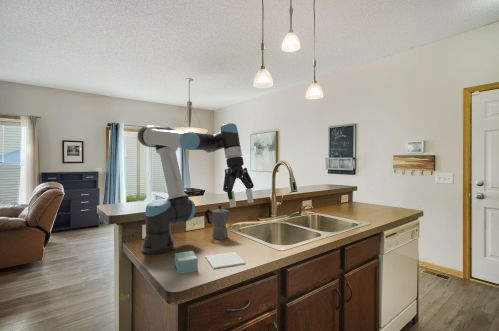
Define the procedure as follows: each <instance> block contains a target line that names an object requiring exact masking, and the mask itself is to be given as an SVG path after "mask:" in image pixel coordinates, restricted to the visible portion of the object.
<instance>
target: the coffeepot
mask: <svg viewBox="0 0 499 331" xmlns="http://www.w3.org/2000/svg"><path fill="white" fill-rule="evenodd" d="M231 213H232V211H231V210H228V209H224V208H222V205H218V208H217V209H209V208H208V209H206V211H205V212H204V216H205V218H206V221H207V224H210V225H211V224H212V221H213V228H212V234H211V237H212V239H215V240H224V239H226V238H228V236H229V235H228V231H227V230H228V229H227V224H226V223H227V219H228V217H229V216H230V214H231ZM209 214H211V215H212V221H210V216H209Z"/></svg>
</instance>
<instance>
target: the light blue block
mask: <svg viewBox="0 0 499 331" xmlns="http://www.w3.org/2000/svg"><path fill="white" fill-rule="evenodd" d="M198 259H199V258H198V257H197V256H196V254H195V252H194V251H193V250H189V251H182V252H177V253H176V252H175V253H174V266H175V268H176V271H177V274H178V275H179V274H180V275H181V274H186V273H192V272H198V270H199V269H198V268H199V266H198V262H199V260H198Z"/></svg>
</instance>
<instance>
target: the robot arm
mask: <svg viewBox="0 0 499 331" xmlns="http://www.w3.org/2000/svg"><path fill="white" fill-rule="evenodd" d="M137 139H138V140H137V141H138V142H139V143H140V144H141V145H143V146H145V147H147V148H155V152H156V153H157V154H158V155H159V156H160V157H159V158H160V162H161V167H162V172H163V175H164V176H163V177H164V180H165V185H166V190H167V195H168V197H167V198H166V199H163V200H156V201H152V202H149V203H148V204H146V205H145V206H146V207H145V212H144V215H145V236H144V240H143V242H142V245H141V252H142V253H144V254H147V255H158V254H159V255H160V254H164V253H169V252H170V251H172V250H174V249H175V242H174V238H173V236H172V232H171V226H174V225H178V224H181V223H186V222H189V221H191V220H192V219H193V218H194V217H195V214H196V210H197V208H196V203H195V202H194V201H193V199H190V198H189V195H188V194H187V193H185V189H184V183H183V180H182V179H183V178H182V175H181V169H180V166H179V162H178V156H177V151H178V149H184V150H187V151H204V152H206V153H214V152H216V151H219V150H222V149H224V155H225V159H226V160H225V161H226V168H225V169H224V181H223V186H222V190H223V192H225V193H226V194H227V199H228V203H229V207H230V208H234V207H235V208H236V207H237V202H236V197H235V196H236V195H235V192H234V190H233V189H234V187H235V183H236V180H237V179H239V180H240V181H241V183H242V185H244V187H245V188H246V189H245V194H246V198H247V203H248V204H252V203H255V202H254V196H253V190H252V189H254V187H255V184H254V182H253V180H252V178H251V176H250V174H249V171H248V167H243V166H244V164H245V163H244V158H243V153H242V148H241V142H240V136H239V131H238V127H237V124H236V123H232V122H231V123H224V124H222V125H221V126H220V131H219V132H216V133H214V134H212V133H201V132H193V131H178V130H176V129H175V128H173V127H169V126H159V125H150V124H149V125H144V126H142V127H141V128H140V129H138V132H137Z"/></svg>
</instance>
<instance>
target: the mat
mask: <svg viewBox="0 0 499 331" xmlns="http://www.w3.org/2000/svg"><path fill="white" fill-rule="evenodd" d="M205 259H206V260H207V262H208V263H209V266H210V267H211V268H212V269H213V270H216V269H221V268H229V267H234V266H235V267H236V266H240V265H241V266H242V265H246V261H244V260H243V258H241V257H240V255H238V254H237V253H236V252H235V251H233V252H232V251H231V252H224V253H218V254H209V255H205Z"/></svg>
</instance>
